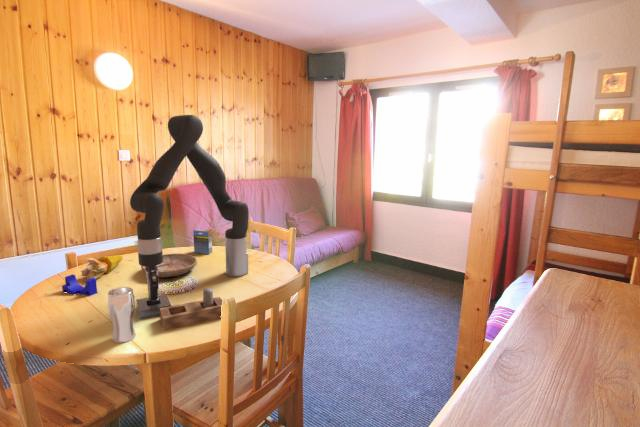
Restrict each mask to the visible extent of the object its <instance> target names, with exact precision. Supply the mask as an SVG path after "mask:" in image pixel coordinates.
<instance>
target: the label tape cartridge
mask: <svg viewBox="0 0 640 427" xmlns="http://www.w3.org/2000/svg"><path fill="white" fill-rule="evenodd" d="M192 234H193V248H194V249H193V252H194V254H205V255H210V254H212V253H213V238H212V237H211V236H210V235H209V232H208V231H205V230H204V231H203V230H193V232H192Z"/></svg>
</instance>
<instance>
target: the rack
mask: <svg viewBox="0 0 640 427" xmlns="http://www.w3.org/2000/svg"><path fill="white" fill-rule="evenodd" d="M222 301H223V299H222V298H221V296H216V297H214V289H213V288H210V287H209V288H204V289H203V290H202V299H200V300H195V301H191V302H185V303H180V304H173V305H171V306H169V307H164V308H160V316H159V319H160V323H161V326H162V329H163V331H168V330H171V329H176V328H181V327H186V326H190V325H194V324H198V323H202V322H208V321H211V319H212V320H216V318H217V319H220V316H221V305H222ZM207 320H208V321H207Z"/></svg>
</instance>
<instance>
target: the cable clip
mask: <svg viewBox="0 0 640 427" xmlns="http://www.w3.org/2000/svg"><path fill="white" fill-rule="evenodd" d="M64 280H65V284H63V285H61V287H62V288H61V289H62V293H63V292H67V293H69V294H68V295H72V294H76V295H78V294H77V293H80V295H83V294H84V296H88V297H89V296H90V297H91V296H94V295H95V294H98V287H97V279H95V278H92V279H86V280H85V284H84V286H83V285H81V284H80V283H79V282H78V280H77V278H76V274H69V275H67V276H65V277H64ZM67 293H66V294H67Z"/></svg>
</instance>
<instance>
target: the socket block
mask: <svg viewBox="0 0 640 427" xmlns="http://www.w3.org/2000/svg"><path fill="white" fill-rule="evenodd" d="M169 299H170V298H169V297H168V294H160V295H159V304H155V305H150V306H149V296H148V297H144V298H143V297H142V298H138V299H137V298H136V300H135V302H136V310H137V315H138V319H139V320H144V319H149V318H154V317H160V308H164V307H169V306H172V304H171V301H170V300H169Z"/></svg>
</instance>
